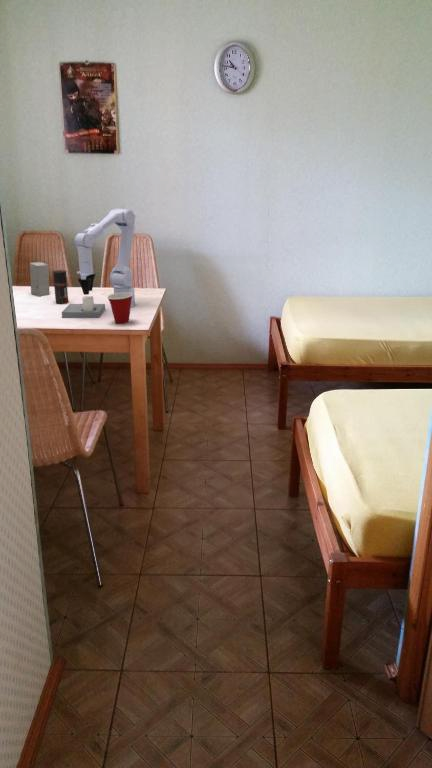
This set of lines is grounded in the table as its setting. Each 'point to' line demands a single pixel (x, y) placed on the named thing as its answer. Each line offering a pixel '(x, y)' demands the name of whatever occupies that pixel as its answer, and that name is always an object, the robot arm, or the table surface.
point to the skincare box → (39, 279)
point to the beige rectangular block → (88, 303)
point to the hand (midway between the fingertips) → (88, 292)
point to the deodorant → (60, 287)
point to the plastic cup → (120, 306)
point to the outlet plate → (78, 312)
